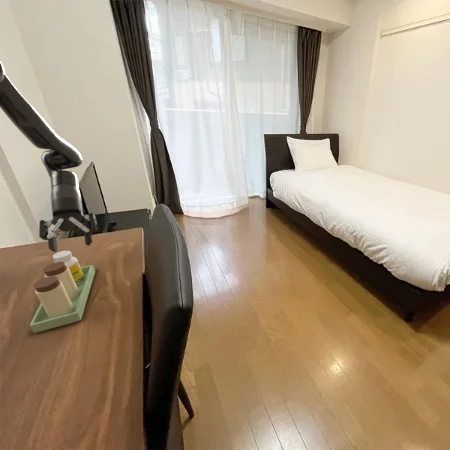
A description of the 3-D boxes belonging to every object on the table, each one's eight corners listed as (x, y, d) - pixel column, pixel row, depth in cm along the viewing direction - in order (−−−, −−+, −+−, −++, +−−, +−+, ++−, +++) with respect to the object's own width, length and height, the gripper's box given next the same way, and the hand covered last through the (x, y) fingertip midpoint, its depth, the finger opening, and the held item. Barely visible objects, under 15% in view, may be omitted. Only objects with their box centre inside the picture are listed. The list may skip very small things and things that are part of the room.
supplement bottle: (62, 290, 77) (48, 261, 73) (62, 280, 81) (49, 253, 77) (85, 282, 80) (73, 254, 76) (84, 274, 84) (72, 247, 80)
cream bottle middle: (52, 303, 73) (36, 272, 68) (64, 291, 77) (50, 261, 73) (72, 301, 73) (58, 271, 69) (83, 289, 78) (70, 260, 73)
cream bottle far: (44, 321, 67) (26, 289, 63) (58, 306, 71) (42, 276, 67) (66, 319, 68) (50, 287, 63) (78, 305, 72) (64, 274, 68)
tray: (59, 279, 83) (56, 272, 82) (95, 271, 86) (92, 264, 85) (33, 333, 64) (29, 325, 63) (81, 320, 68) (77, 312, 67)
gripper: (32, 200, 82) (35, 250, 78) (88, 193, 88) (94, 239, 84) (45, 209, 89) (48, 256, 85) (96, 202, 95) (102, 246, 91)
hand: (71, 247), depth 84 cm, fingers open, 8 cm apart
